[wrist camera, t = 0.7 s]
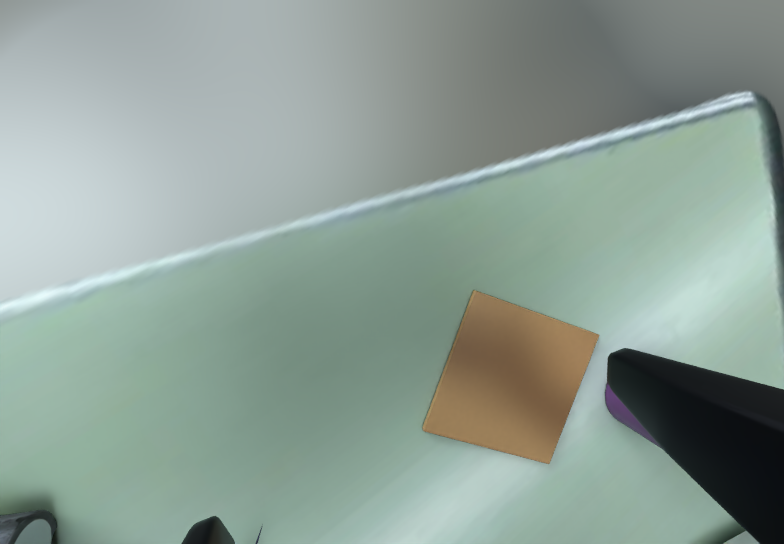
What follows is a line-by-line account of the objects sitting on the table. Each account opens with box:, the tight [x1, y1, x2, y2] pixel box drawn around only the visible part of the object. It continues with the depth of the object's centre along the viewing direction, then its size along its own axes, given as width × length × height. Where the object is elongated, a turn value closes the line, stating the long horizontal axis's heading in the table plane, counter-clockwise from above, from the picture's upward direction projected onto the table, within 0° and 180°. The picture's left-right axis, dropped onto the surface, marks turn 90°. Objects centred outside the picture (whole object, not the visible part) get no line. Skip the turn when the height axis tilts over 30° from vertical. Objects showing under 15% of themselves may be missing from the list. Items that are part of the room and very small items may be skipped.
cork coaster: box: [422, 290, 599, 464], centre depth 26 cm, size 10×10×1 cm
